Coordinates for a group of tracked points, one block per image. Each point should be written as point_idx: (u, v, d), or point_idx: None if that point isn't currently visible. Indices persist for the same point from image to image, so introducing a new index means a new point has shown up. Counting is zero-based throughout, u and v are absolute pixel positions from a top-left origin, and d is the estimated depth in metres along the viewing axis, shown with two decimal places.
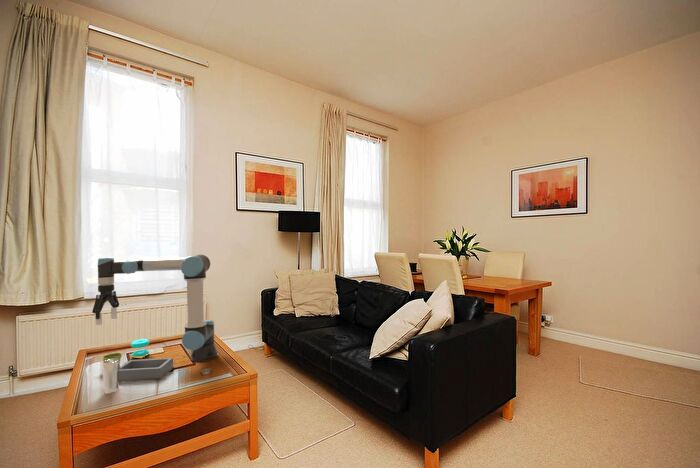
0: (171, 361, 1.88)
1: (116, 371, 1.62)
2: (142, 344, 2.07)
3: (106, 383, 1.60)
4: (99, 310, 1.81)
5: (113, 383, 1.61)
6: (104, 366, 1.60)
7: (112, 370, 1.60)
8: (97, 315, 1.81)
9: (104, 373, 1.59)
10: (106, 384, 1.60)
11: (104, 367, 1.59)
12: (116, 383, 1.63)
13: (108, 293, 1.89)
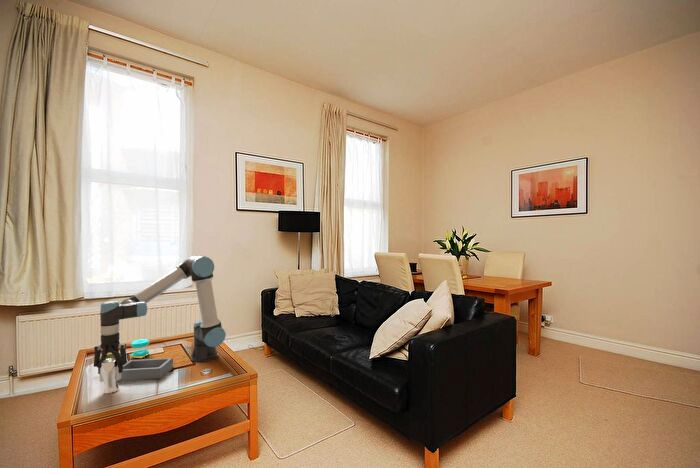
0: (171, 361, 1.88)
1: (115, 370, 1.62)
2: (142, 344, 2.07)
3: (105, 383, 1.60)
4: (98, 365, 1.61)
5: (113, 382, 1.61)
6: (103, 366, 1.59)
7: (111, 370, 1.60)
8: None
9: (103, 373, 1.59)
10: (106, 384, 1.60)
11: (103, 367, 1.59)
12: (116, 382, 1.63)
13: (109, 344, 1.62)
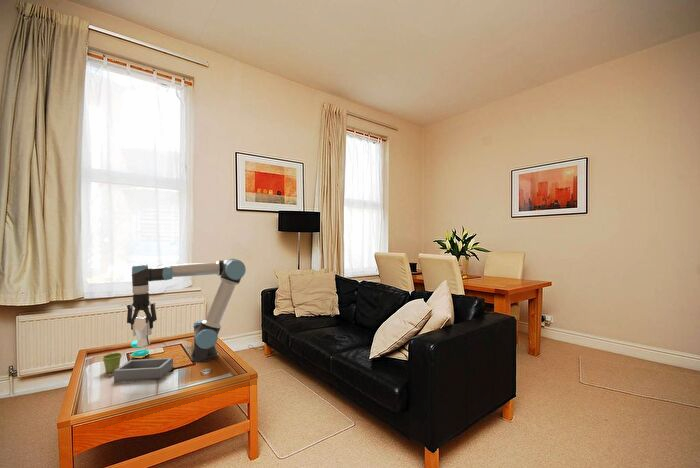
0: (171, 361, 1.88)
1: (146, 326, 1.79)
2: None
3: (138, 337, 1.77)
4: (131, 321, 1.78)
5: (145, 337, 1.78)
6: (135, 322, 1.76)
7: (143, 325, 1.77)
8: None
9: (136, 328, 1.76)
10: (138, 338, 1.77)
11: (136, 323, 1.76)
12: (147, 337, 1.80)
13: (140, 302, 1.79)
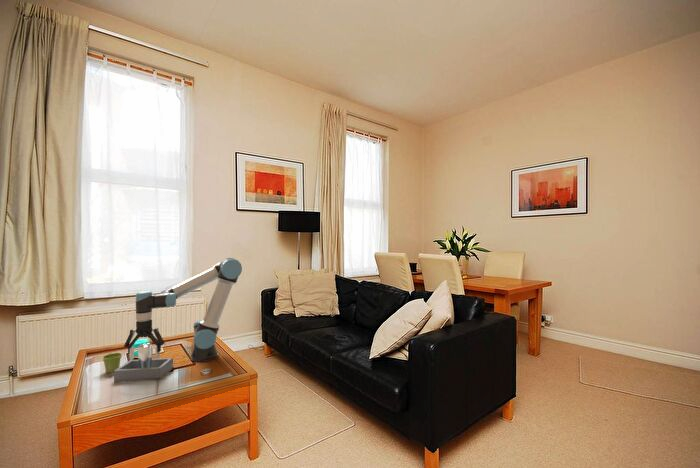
0: (171, 361, 1.88)
1: (150, 354, 1.80)
2: None
3: (141, 365, 1.79)
4: (128, 345, 1.80)
5: (147, 365, 1.80)
6: (140, 350, 1.78)
7: (147, 354, 1.79)
8: None
9: (140, 356, 1.78)
10: (141, 366, 1.79)
11: (140, 351, 1.78)
12: (150, 365, 1.81)
13: (143, 329, 1.81)
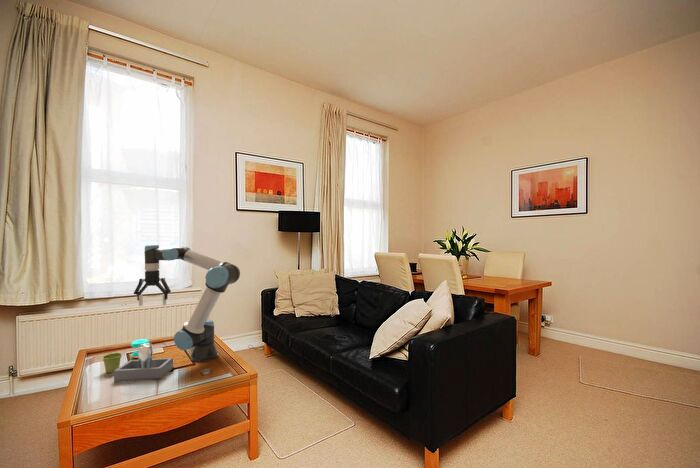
0: (171, 361, 1.88)
1: (150, 354, 1.80)
2: None
3: (141, 365, 1.79)
4: (137, 292, 1.98)
5: (147, 365, 1.80)
6: (140, 350, 1.78)
7: (147, 354, 1.79)
8: None
9: (140, 356, 1.78)
10: (141, 366, 1.79)
11: (140, 351, 1.78)
12: (150, 365, 1.81)
13: (151, 279, 1.98)
